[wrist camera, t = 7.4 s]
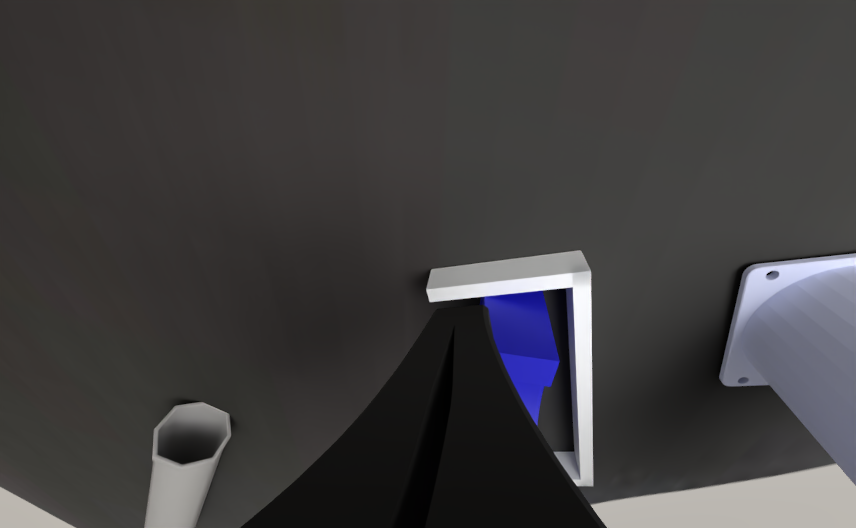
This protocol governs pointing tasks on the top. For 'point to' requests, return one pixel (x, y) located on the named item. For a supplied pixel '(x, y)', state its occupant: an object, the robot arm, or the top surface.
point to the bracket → (577, 281)
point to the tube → (185, 463)
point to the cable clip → (524, 343)
